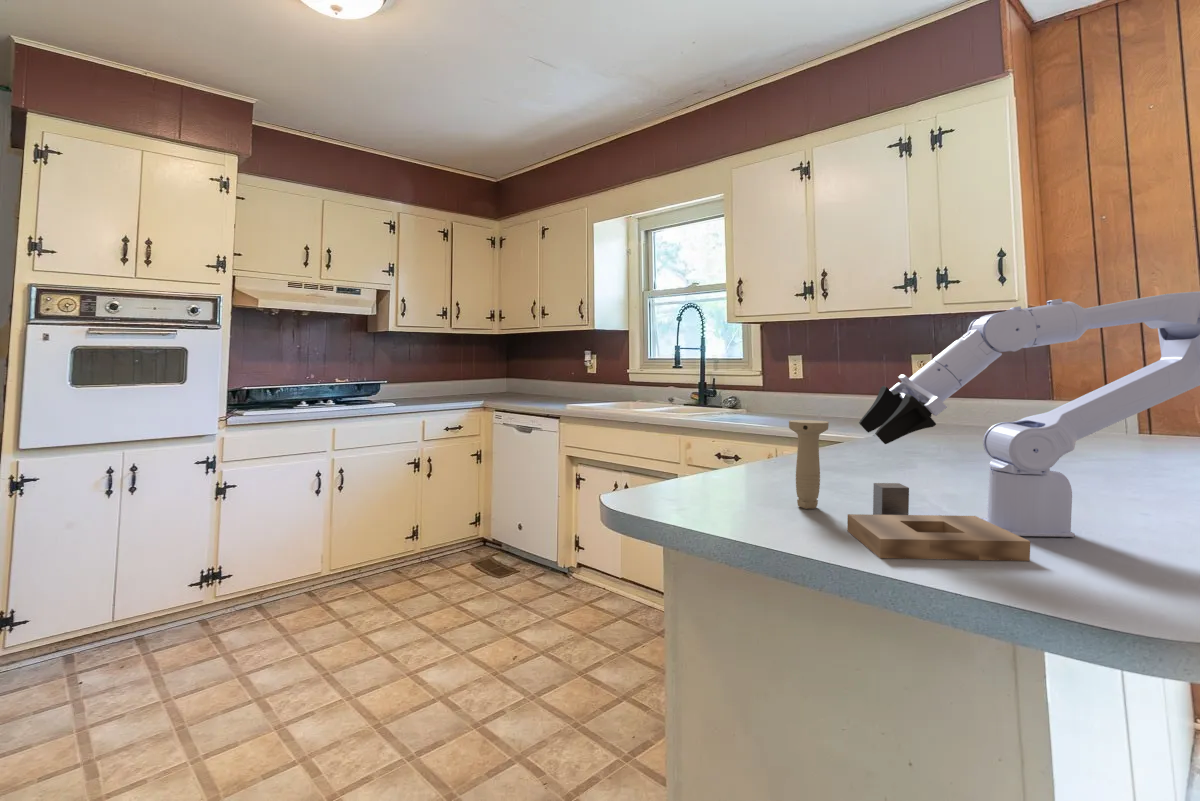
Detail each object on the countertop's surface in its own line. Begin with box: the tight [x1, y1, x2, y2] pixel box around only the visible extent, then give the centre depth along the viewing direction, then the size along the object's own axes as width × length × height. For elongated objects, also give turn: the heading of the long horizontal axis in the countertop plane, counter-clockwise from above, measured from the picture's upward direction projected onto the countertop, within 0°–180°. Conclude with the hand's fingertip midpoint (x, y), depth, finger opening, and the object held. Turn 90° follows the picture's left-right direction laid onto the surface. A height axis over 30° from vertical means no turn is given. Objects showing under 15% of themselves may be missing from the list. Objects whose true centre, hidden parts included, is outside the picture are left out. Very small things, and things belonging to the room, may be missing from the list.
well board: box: [846, 513, 1031, 562], centre depth 77 cm, size 18×12×2 cm, turn 85°
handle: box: [788, 419, 830, 510], centre depth 98 cm, size 5×6×15 cm
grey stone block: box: [872, 482, 910, 515], centre depth 90 cm, size 4×4×6 cm
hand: (871, 433), depth 88 cm, fingers open, 7 cm apart
